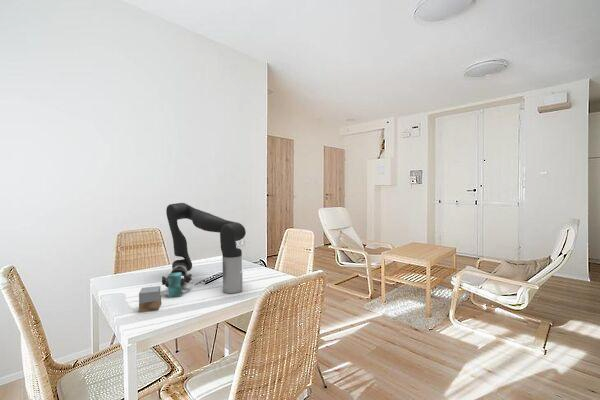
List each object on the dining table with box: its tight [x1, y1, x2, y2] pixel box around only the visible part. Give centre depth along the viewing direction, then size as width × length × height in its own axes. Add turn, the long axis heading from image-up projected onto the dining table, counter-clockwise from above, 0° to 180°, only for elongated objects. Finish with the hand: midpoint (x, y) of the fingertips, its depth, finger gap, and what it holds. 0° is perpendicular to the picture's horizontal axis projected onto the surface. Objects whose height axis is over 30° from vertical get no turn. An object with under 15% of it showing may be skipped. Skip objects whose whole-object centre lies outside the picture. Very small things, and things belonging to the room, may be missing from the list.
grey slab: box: [138, 285, 162, 304], centre depth 115 cm, size 7×7×4 cm
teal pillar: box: [167, 272, 183, 299], centre depth 129 cm, size 5×5×10 cm
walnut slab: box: [138, 295, 162, 314], centre depth 115 cm, size 7×7×4 cm
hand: (174, 284), depth 127 cm, fingers open, 5 cm apart
